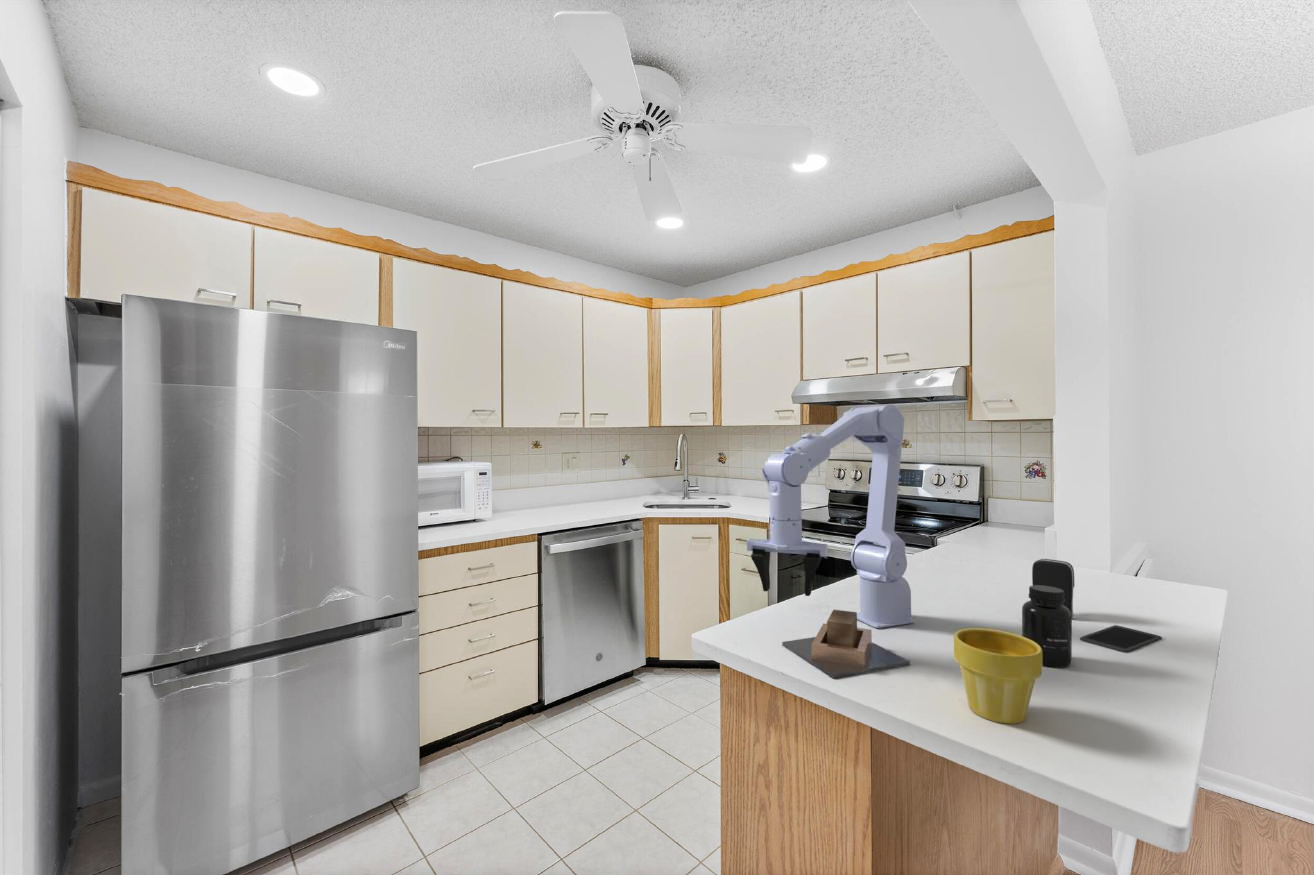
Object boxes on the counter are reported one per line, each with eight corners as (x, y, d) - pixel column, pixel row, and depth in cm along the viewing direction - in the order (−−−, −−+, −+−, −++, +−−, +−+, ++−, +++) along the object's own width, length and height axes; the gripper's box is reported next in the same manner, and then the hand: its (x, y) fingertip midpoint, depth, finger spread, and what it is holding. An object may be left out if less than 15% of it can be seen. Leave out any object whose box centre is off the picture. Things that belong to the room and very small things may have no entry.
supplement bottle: (1058, 672, 87) (1056, 596, 87) (1013, 657, 94) (1012, 586, 94) (1081, 663, 91) (1079, 590, 91) (1036, 649, 97) (1035, 581, 97)
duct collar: (850, 634, 105) (850, 618, 105) (909, 664, 91) (909, 646, 91) (782, 645, 101) (781, 628, 101) (833, 678, 86) (832, 659, 86)
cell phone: (1163, 640, 101) (1163, 636, 101) (1126, 655, 94) (1126, 651, 94) (1115, 628, 107) (1115, 624, 107) (1077, 641, 101) (1077, 637, 101)
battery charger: (1076, 616, 114) (1075, 561, 114) (1072, 620, 111) (1071, 564, 111) (1036, 609, 119) (1035, 556, 119) (1031, 613, 116) (1030, 558, 116)
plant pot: (1058, 716, 74) (1056, 643, 74) (1021, 740, 68) (1019, 661, 68) (978, 687, 82) (977, 622, 82) (939, 707, 77) (938, 637, 77)
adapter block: (827, 656, 94) (826, 621, 94) (834, 642, 100) (833, 609, 100) (852, 660, 92) (851, 624, 92) (857, 645, 98) (856, 612, 98)
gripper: (741, 519, 101) (742, 593, 101) (822, 523, 95) (823, 602, 95) (752, 514, 108) (753, 584, 108) (829, 518, 101) (830, 592, 101)
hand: (787, 592), depth 102 cm, fingers open, 7 cm apart
